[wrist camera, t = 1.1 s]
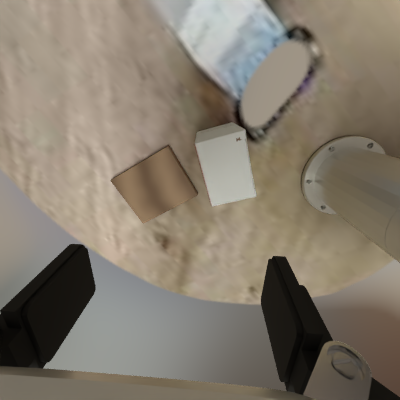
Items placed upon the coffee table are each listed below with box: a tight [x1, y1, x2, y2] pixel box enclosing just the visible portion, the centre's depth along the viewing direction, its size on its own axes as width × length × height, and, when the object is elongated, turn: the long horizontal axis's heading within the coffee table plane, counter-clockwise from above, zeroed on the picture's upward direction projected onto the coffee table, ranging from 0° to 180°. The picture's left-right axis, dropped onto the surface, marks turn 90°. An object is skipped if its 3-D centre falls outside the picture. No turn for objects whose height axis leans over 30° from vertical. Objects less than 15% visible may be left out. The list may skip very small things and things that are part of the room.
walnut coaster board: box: [111, 146, 198, 223], centre depth 35 cm, size 11×9×1 cm
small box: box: [194, 122, 257, 206], centre depth 28 cm, size 8×6×10 cm
